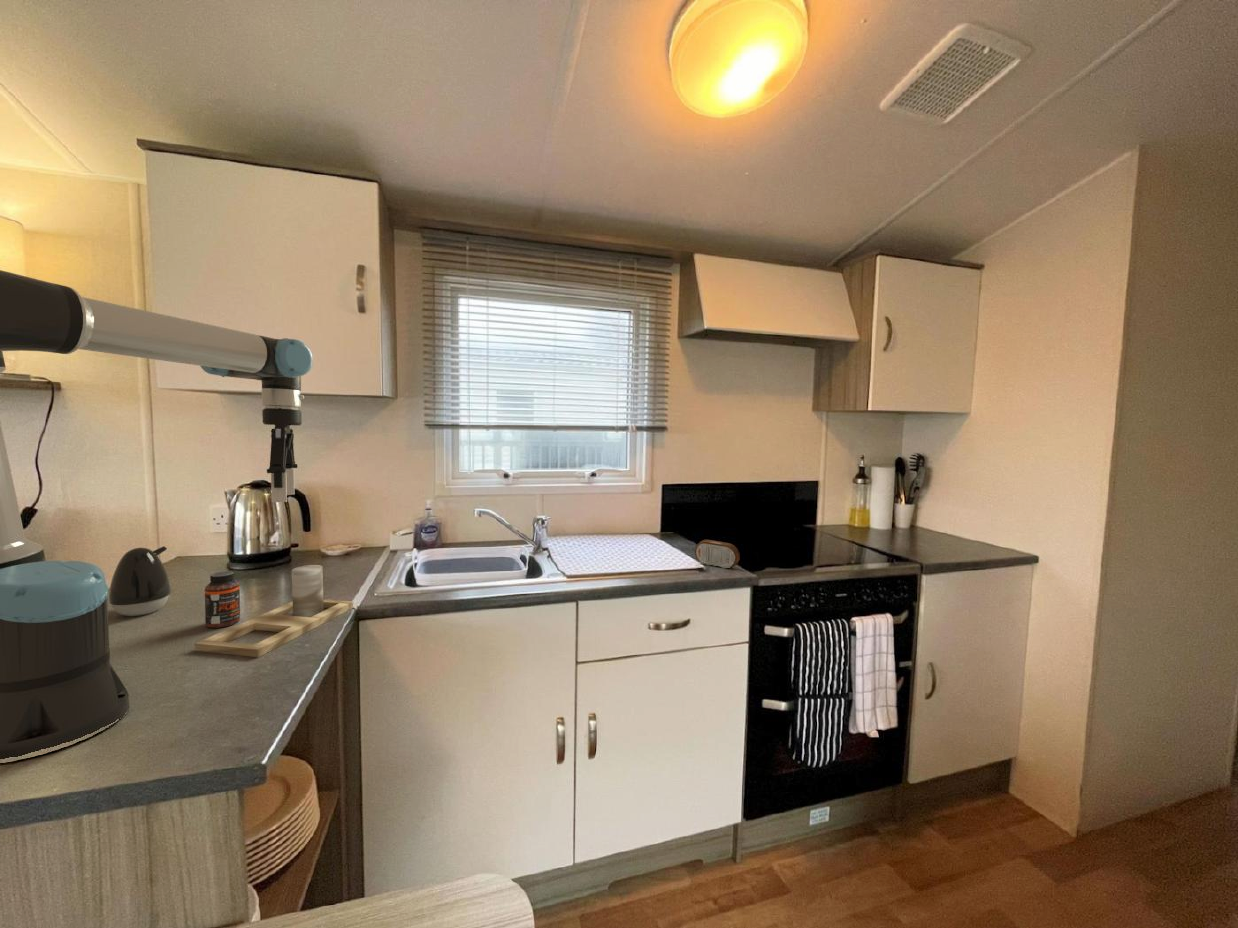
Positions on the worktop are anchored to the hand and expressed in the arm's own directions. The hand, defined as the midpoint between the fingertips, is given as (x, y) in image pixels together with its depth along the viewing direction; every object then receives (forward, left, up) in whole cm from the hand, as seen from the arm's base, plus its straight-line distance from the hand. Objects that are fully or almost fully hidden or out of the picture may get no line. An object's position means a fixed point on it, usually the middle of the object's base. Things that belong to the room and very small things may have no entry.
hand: (283, 498), depth 113 cm
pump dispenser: (-8, +30, -27) cm, 41 cm away
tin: (+61, -105, -27) cm, 124 cm away
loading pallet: (-9, -8, -27) cm, 30 cm away
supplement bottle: (-10, +6, -27) cm, 30 cm away
